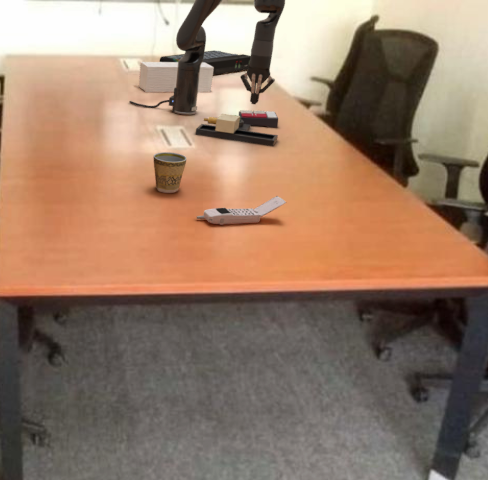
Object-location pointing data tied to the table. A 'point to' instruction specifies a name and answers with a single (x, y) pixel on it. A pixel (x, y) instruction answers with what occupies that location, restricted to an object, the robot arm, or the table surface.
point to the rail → (238, 135)
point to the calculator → (259, 118)
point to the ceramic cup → (168, 171)
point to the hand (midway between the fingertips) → (253, 103)
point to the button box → (243, 126)
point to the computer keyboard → (218, 61)
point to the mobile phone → (241, 213)
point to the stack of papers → (170, 77)
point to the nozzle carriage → (225, 123)
